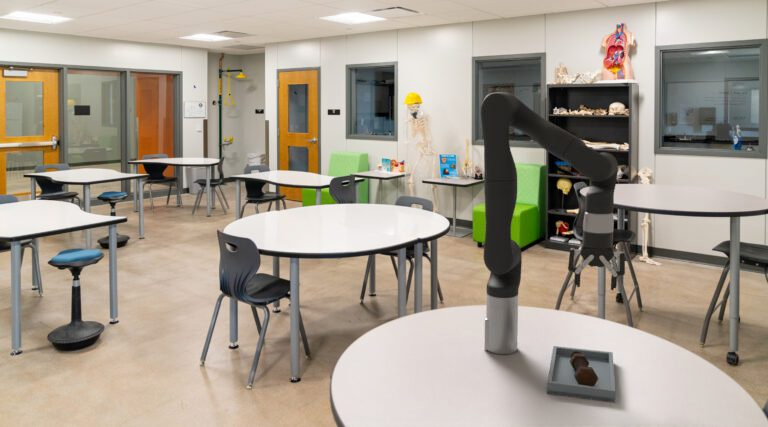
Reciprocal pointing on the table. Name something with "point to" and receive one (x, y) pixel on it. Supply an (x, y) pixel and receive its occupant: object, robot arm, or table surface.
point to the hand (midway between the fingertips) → (595, 287)
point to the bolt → (583, 370)
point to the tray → (563, 372)
